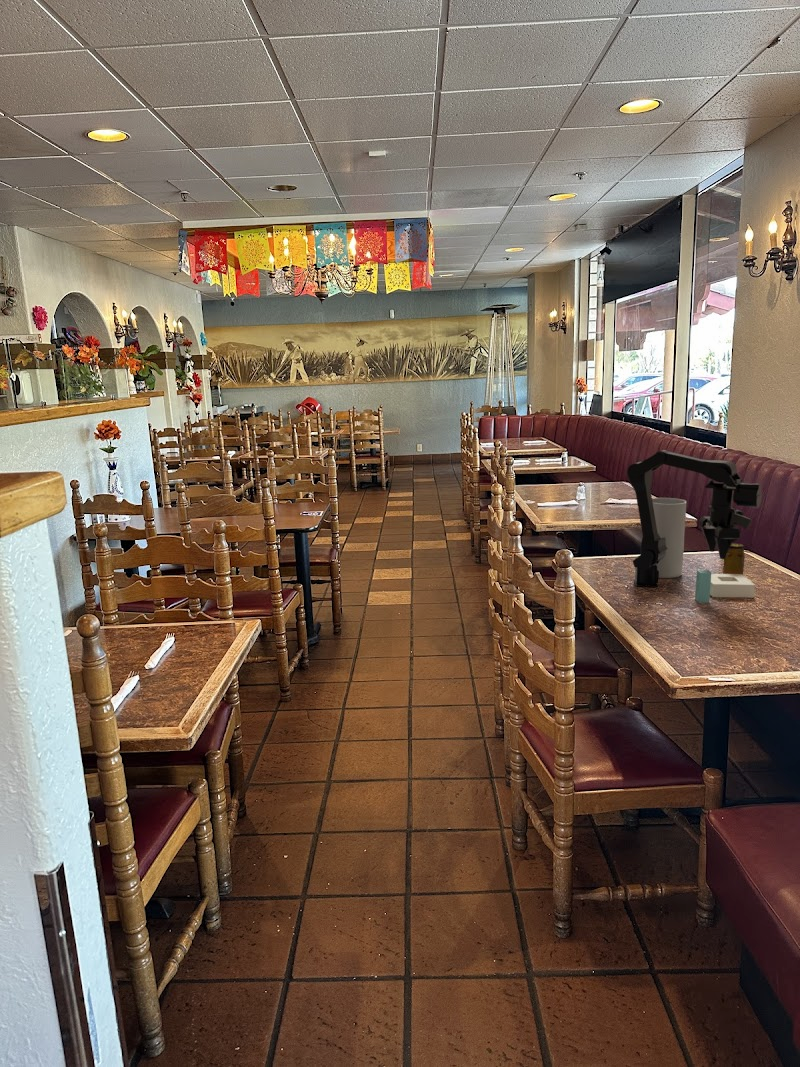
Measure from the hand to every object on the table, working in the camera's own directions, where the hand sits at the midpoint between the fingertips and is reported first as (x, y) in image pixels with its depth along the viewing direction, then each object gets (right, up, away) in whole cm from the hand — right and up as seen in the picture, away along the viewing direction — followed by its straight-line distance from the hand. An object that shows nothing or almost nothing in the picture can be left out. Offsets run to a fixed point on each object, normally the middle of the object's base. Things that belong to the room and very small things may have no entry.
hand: (717, 555), depth 220 cm
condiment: (+13, -9, +17) cm, 23 cm away
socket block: (+6, -11, +6) cm, 14 cm away
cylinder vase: (-7, -7, +27) cm, 29 cm away
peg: (-5, -14, -2) cm, 15 cm away
